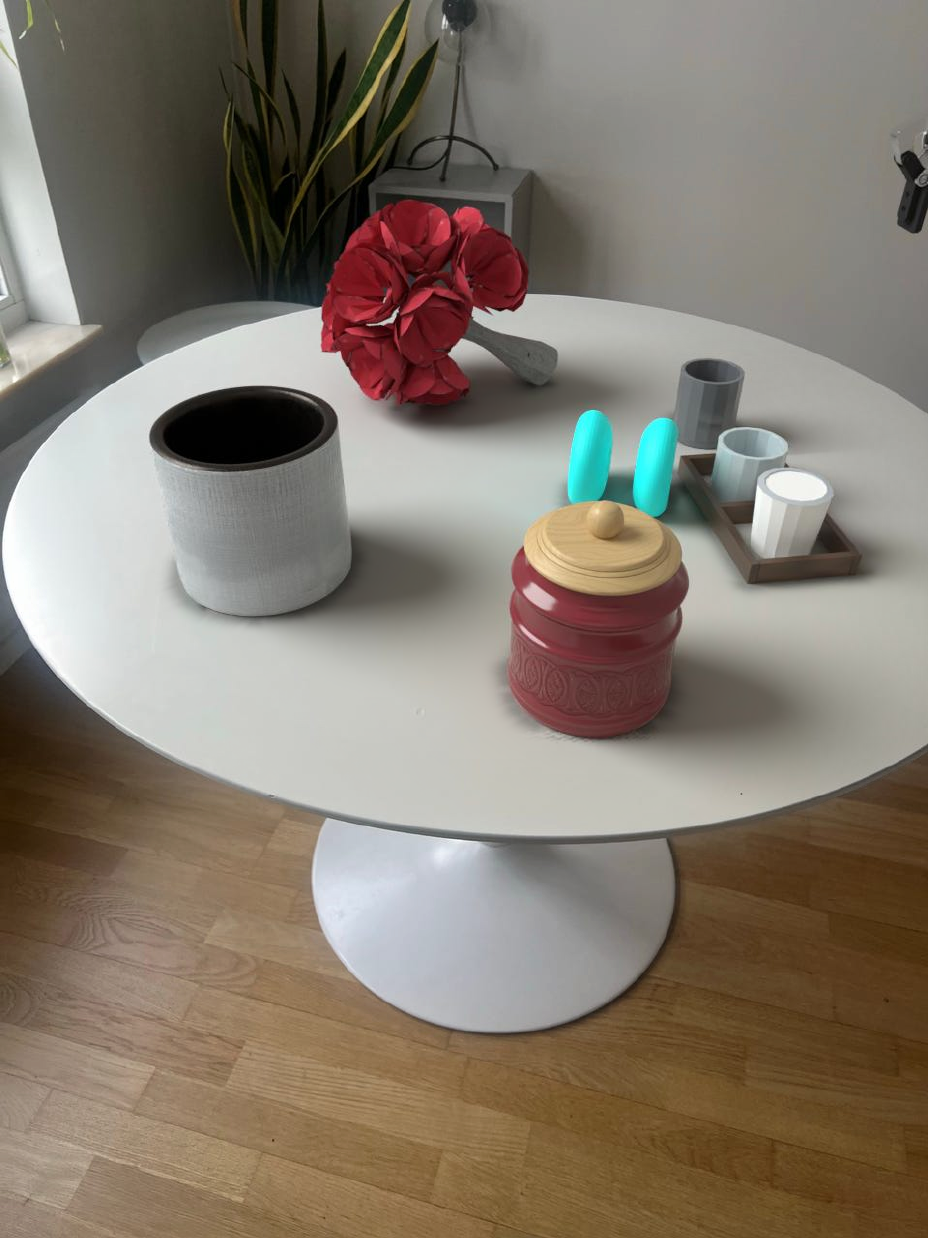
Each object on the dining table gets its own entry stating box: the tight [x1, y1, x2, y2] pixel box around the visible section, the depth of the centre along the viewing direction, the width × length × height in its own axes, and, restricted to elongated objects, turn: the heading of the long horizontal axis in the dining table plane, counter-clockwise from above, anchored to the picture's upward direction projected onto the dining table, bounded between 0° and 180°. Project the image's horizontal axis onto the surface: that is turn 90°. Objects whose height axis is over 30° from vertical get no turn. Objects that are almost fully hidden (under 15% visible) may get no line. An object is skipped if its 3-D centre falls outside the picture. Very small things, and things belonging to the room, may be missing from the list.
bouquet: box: [320, 199, 559, 409], centre depth 113 cm, size 22×24×30 cm
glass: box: [708, 426, 789, 503], centre depth 96 cm, size 7×7×7 cm
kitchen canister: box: [506, 500, 690, 739], centre depth 70 cm, size 13×13×18 cm
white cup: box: [749, 467, 835, 559], centre depth 88 cm, size 7×7×7 cm
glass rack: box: [677, 452, 863, 585], centre depth 93 cm, size 11×20×3 cm, turn 8°
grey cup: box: [672, 357, 746, 450], centre depth 107 cm, size 7×7×8 cm
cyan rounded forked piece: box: [567, 409, 678, 518], centre depth 95 cm, size 10×10×10 cm
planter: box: [148, 385, 353, 617], centre depth 84 cm, size 16×16×16 cm
